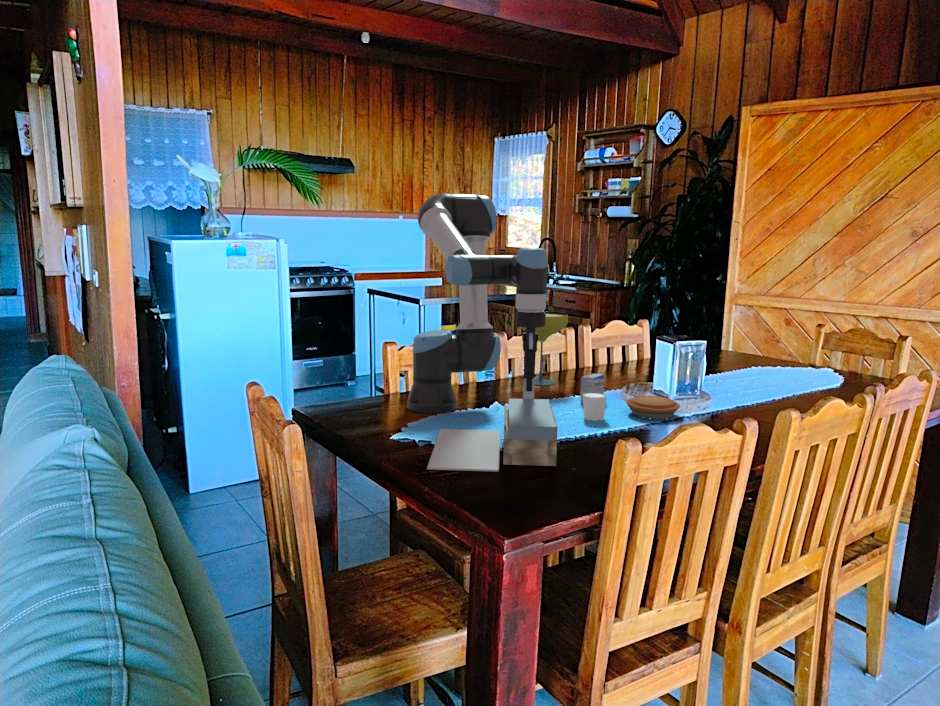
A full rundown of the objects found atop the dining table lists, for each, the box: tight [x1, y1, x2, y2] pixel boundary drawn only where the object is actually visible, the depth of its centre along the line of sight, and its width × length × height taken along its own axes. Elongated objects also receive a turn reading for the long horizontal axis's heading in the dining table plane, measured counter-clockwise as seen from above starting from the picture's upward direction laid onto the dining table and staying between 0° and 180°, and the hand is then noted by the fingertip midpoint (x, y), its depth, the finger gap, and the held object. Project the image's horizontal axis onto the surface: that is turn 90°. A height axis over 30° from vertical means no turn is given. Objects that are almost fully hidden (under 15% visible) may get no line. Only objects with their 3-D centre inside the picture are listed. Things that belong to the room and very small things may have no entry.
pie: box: [625, 395, 681, 420], centre depth 203 cm, size 15×16×5 cm
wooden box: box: [502, 404, 558, 467], centre depth 166 cm, size 12×20×9 cm, turn 177°
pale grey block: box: [508, 398, 555, 440], centre depth 161 cm, size 10×26×3 cm, turn 177°
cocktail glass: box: [520, 311, 569, 387], centre depth 246 cm, size 18×18×25 cm
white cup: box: [582, 393, 608, 422], centre depth 198 cm, size 7×7×7 cm
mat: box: [426, 428, 501, 473], centre depth 168 cm, size 16×32×1 cm, turn 177°
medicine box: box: [579, 373, 605, 404], centre depth 219 cm, size 8×4×9 cm, turn 143°
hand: (528, 402), depth 175 cm, fingers closed
